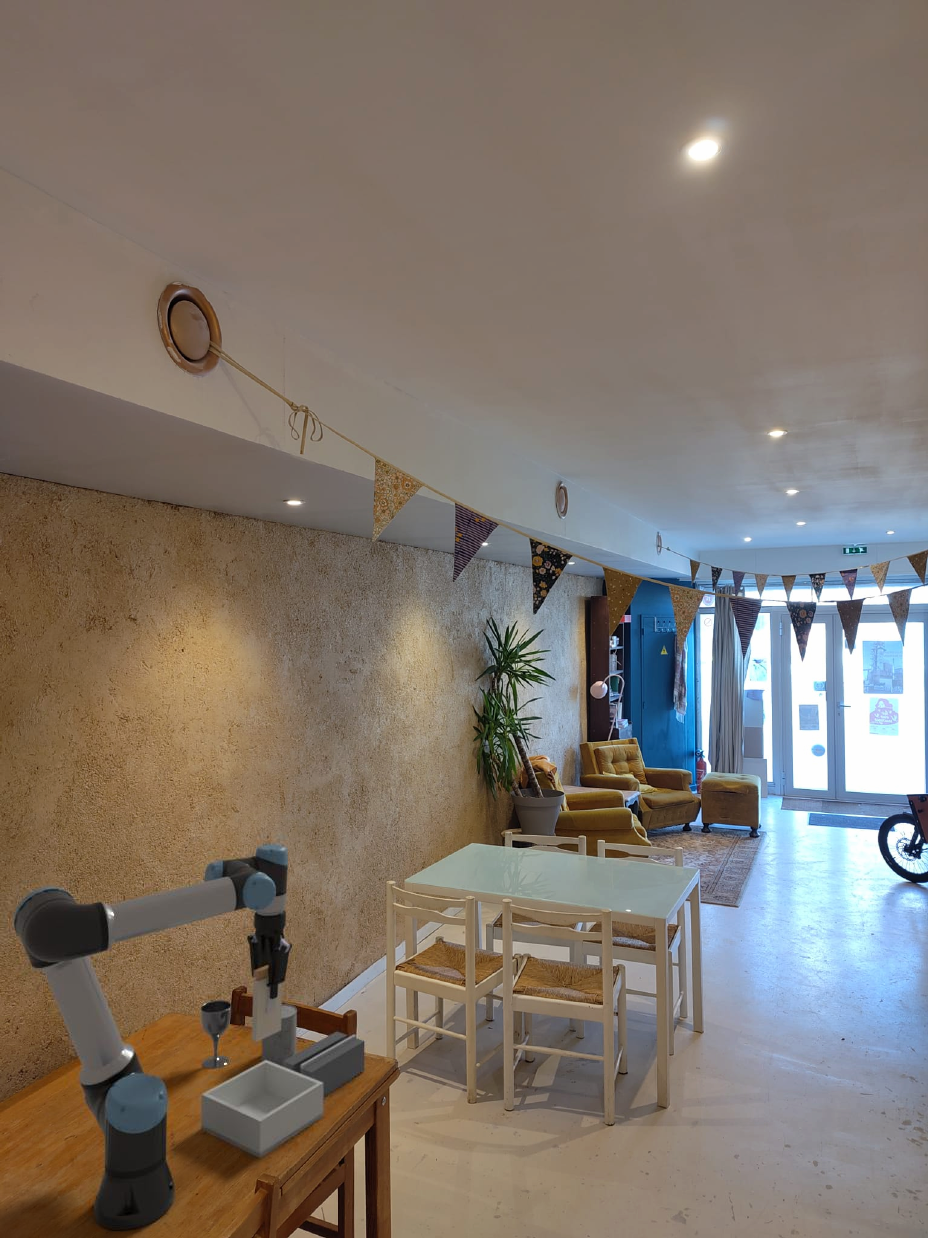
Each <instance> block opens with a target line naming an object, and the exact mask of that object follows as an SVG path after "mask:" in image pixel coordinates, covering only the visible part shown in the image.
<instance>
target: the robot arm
mask: <svg viewBox="0 0 928 1238" xmlns="http://www.w3.org/2000/svg"><path fill="white" fill-rule="evenodd" d="M287 849H288V848H287V847H285V846H283V845H281V844H276V843H275V844H271V843H270V844H264V845H260V846H258V847H257V848H256V851H255V855H253V856H248V857H241V858H232V859H225V860H223V859H221V860H219V861H214V862H213V861H212V862H210V863H208V864H207V866H206V868H205V870H204V871H205V872H204V882H200V883H199V882H198V883H196V884H192V885H187V886H182V887H179V888H174V889H170V890H166V891H162V892H158V893H154V894H149V895H145V896H140V897H137V898H132V899H128V900H124V901H121V902H116V903H112V904H111V903H110V904H107V903H105V902H104V901H98V902H93V903H86V904H85V903H84V904H82V903H81V904H80V903H77V901H76V900H75V899H74V896H72V895H71V893H70V892H68V891H67V890H64V889H62V888H61V887H57V886H45V887H40V888H38V889H37V888H36V889H35V890H33V891H31V892H30V893H28V894H27V895H26V896H24V897H23V899H22V900H20V902H19V903H18V905H17V907H16V909H15V912H14V915H13V928H14V931H15V933H16V935H17V936H19V938H20V941H21V943H22V946H23V947H24V951H25V952H26V955H27V957H28V960H29V963H30V965H31V967H32V968H33V969H34V970H38V971H43V973H44V976H45V978H46V981H47V983H48V985H49V988H50V990H51V992H52V995H53V998H54V999H55V1002H56V1003H55V1004H56V1005H57V1008H58V1009H59V1012H60V1014H61V1017H62V1019H63V1023H64V1024H65V1027H66V1030H67V1032H68V1035H69V1037H70V1039H71V1041H72V1044H73V1046H74V1049H75V1053H76V1054H77V1057H78V1059H79V1061H80V1065H82V1067H81V1070H80V1071H79V1073H78V1081H79V1083H80V1086H81V1087H82V1090H83V1094H84V1100H85V1102H86V1105H87V1107H88V1108H89V1110H90V1111H91V1112H92V1115H94V1118H95V1120H96V1122H97V1123H98V1124H97V1125H99V1128H100V1130H101V1132H102V1134H103V1136H104V1172H103V1176H102V1179H101V1181H100V1185H99V1189H98V1192H97V1194H96V1196H95V1199H94V1209H93V1211H94V1212H93V1213H94V1214H93V1215H94V1217H93V1218H94V1220H95V1221H96V1223H97V1224H98V1225H99V1226H100V1227H102V1228H105V1229H107V1230H112V1231H127V1230H129V1231H130V1230H133V1229H137V1228H141V1227H144V1226H147V1225H149V1224H152V1223H154V1222H155V1221H156V1220H158V1219H159V1218H161V1217H163V1216H164V1215H165V1214H166V1213H167V1212H168V1211H169V1210H170V1209H171V1207H172V1206H173V1204H174V1201H175V1191H176V1190H175V1189H176V1188H175V1182H174V1178H173V1176H172V1173H171V1169H170V1167H169V1164H168V1161H167V1124H168V1123H167V1122H168V1121H167V1120H168V1106H169V1101H168V1100H169V1099H168V1092H167V1087H166V1084H165V1083H164V1081H163V1080H162V1079H161V1078H159V1077H158V1076H157V1075H151V1076H150V1074H149V1073H145V1072H144V1070H143V1067H142V1065H141V1063H140V1060H139V1058H138V1057H139V1056H138V1055H137V1053H136V1050H135V1047H134V1046H133V1045H131V1044H130V1043H126V1042H125V1043H124V1042H123V1039H122V1036H121V1034H120V1032H119V1029H118V1027H117V1024H116V1022H115V1018H114V1016H113V1014H112V1011H111V1009H110V1006H109V1003H108V1001H107V999H106V997H105V993H104V991H103V989H102V986H101V984H100V981H99V978H98V976H97V973H96V971H95V968H94V966H93V964H92V961H91V959H90V956H92V955H97V954H100V953H103V952H107V951H109V950H110V949H111V947H112V945H114V944H116V943H119V942H124V941H127V940H131V939H132V940H133V939H135V938H138V937H143V936H146V935H149V934H154V933H157V932H161V931H165V930H168V929H171V928H176V927H180V926H184V925H187V924H191V923H195V922H199V921H202V920H205V919H206V920H207V919H210V918H213V917H217V916H221V915H225V914H228V913H233V912H236V911H240V910H244V909H249V910H251V911H252V910H253V911H255V912H254V914H253V915H254V916H253V928H254V929H255V931H254V933H252V934H248V935H247V936H246V939H247V940H246V941H247V942H248V945H249V957H250V968H251V977H252V978H253V979H255V980H256V979H257V978H254V977H253V975H254V970H256V969H259V968H261V967H264V966H266V965H268V976H269V983H267V984H266V1004H265V1013H267V1014H268V1013H270V1012H272V1011H275V1010H276V998H277V996H278V984H280V983H282V984H283V983H284V982H286V977H287V970H288V962H289V956H290V952H291V949H292V948H293V944H292V943H291V942H287V941H286V939H285V933H284V929H285V927H286V925H287V912H286V909H287V893H288V892H287V891H288V889H287V886H288V867H289V863H288V862H289V860H288V857H289V856H288V855H289V854H288V850H287Z"/></svg>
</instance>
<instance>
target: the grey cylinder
mask: <svg viewBox="0 0 928 1238" xmlns="http://www.w3.org/2000/svg"><path fill="white" fill-rule="evenodd" d="M297 1012H298V1009H297V1007H296V1006H294V1005H292V1004H285V1003H282V1013H281V1030H280V1031H278V1032H276V1033H274V1034H272V1035H270V1036H268V1037H266V1038H264V1039H262V1040H261V1057H260V1058H261V1062H263V1061H265V1060H267V1061H270V1062H272V1063H275V1064H277V1065H280V1066H283V1061H284V1060H286V1059H288V1058H289V1057H291V1056H293V1055H295V1054H297V1022H298V1021H297V1018H298V1017H297V1016H298V1015H297Z"/></svg>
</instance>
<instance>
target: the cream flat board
mask: <svg viewBox="0 0 928 1238" xmlns="http://www.w3.org/2000/svg"><path fill="white" fill-rule="evenodd" d="M253 977H254V978H253ZM253 977H252V978H253V979H254V980H253V985H252V986H253V990H252V992H253V993H252V1016H251V1017H252V1018H251V1021H252V1022H251V1041H252V1042H255V1043H257V1042H260V1041H262V1039H264V1038H266V1037H268V1036H270V1035H272V1034H274V1033H276V1032H278V1031H280V1030H281V1013H282V1004H283V982H282V983H280V984H278V996H277V998H276V1010H275V1011H272V1012H270V1013H268V1014H267V1013H265V1004H266V984H267V983H269V976H268V965H266V966H264V967H261V968H259V969H256V970H254V975H253ZM256 978H257V979H256Z"/></svg>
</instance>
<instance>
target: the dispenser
mask: <svg viewBox="0 0 928 1238" xmlns="http://www.w3.org/2000/svg"><path fill="white" fill-rule="evenodd" d="M282 1067H285V1068H287V1069H290V1070H293V1071H295V1072H298V1073H300V1074H303V1075H305V1076H308V1077H310V1078H313V1079H315V1080H318V1081H320V1082H323V1098H325V1097H327V1096H328V1095H330V1094H331V1093H333V1092H335V1091H336V1090H338V1089H340V1088H341V1087H342V1086H344V1085H345V1084H347V1083H349V1082H350V1081H352V1080H353V1079H355V1078H356V1077H355V1076H357V1075H358V1074H360V1073H361V1072H363V1071H364V1072H365V1040H364V1039H363V1040H362V1039H360V1038H357V1035H356V1034H352V1035H350V1036H349V1037H348V1034H345V1033H343V1032H339V1031H335V1032H333V1033H331V1034H329V1035H327V1036H325V1037H324V1038H322V1039H321V1040H319V1041H317V1042H315V1043H313V1044H311V1045H310V1046H308V1047H306V1048H304V1049H302V1050H301V1051H299V1052H296V1054H295V1055H293V1056H291V1057H289V1058H288V1059H286V1060H284V1061H283V1064H282ZM364 1072H363V1073H364ZM361 1074H362V1073H361ZM361 1074H360V1075H361ZM358 1076H359V1075H358ZM358 1076H357V1077H358ZM354 1077H355V1078H354ZM352 1078H353V1079H352ZM348 1081H349V1082H348ZM343 1084H344V1085H343Z"/></svg>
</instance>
